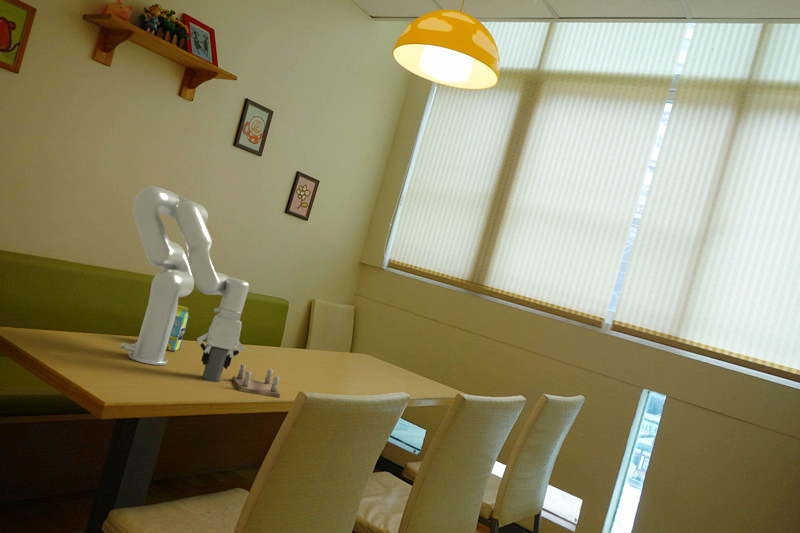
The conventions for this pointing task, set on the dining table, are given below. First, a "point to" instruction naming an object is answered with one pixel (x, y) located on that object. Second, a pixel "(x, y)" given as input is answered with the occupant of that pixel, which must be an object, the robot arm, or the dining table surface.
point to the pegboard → (256, 383)
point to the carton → (178, 329)
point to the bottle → (215, 364)
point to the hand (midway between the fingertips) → (214, 365)
